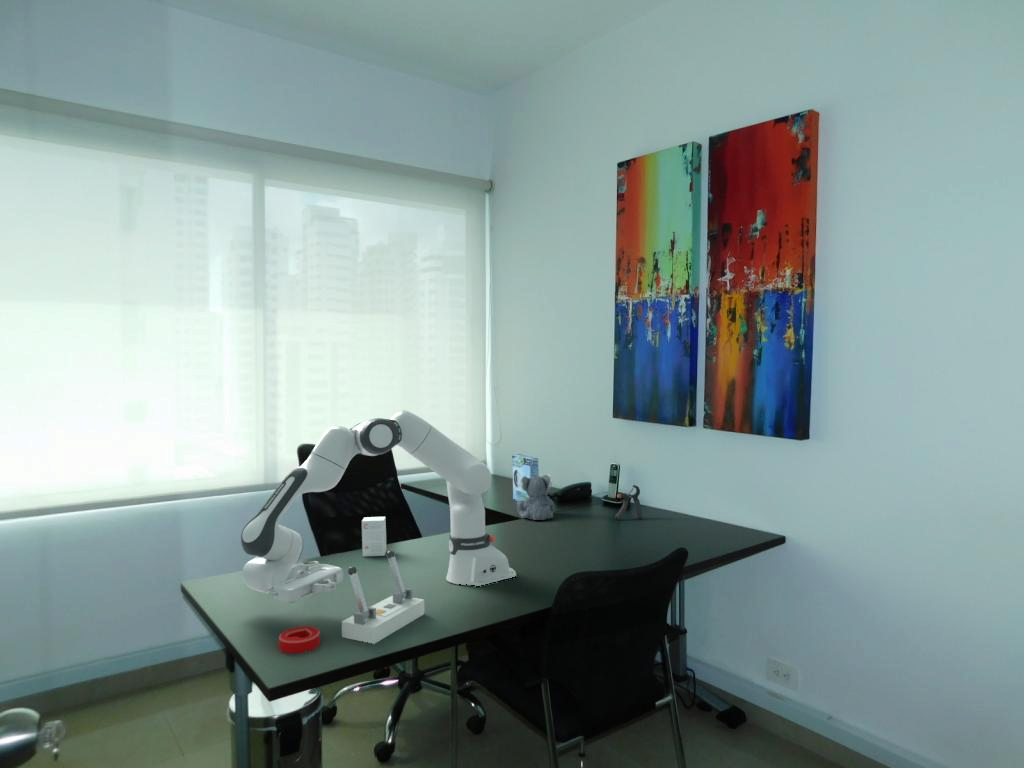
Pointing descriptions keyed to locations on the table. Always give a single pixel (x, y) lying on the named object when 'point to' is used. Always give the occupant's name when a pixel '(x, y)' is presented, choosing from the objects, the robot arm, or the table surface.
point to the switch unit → (383, 618)
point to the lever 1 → (359, 592)
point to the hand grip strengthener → (626, 500)
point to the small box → (374, 536)
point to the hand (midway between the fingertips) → (332, 587)
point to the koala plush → (536, 498)
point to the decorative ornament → (299, 639)
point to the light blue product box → (522, 473)
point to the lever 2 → (396, 574)
